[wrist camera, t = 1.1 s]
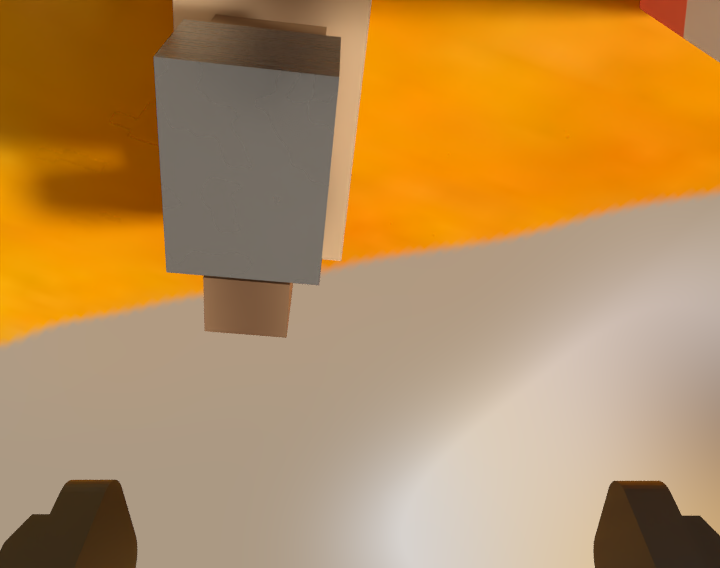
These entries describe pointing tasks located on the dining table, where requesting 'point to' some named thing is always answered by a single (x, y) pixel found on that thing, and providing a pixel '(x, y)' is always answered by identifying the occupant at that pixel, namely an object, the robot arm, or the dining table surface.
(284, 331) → the body
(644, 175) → the dining table surface
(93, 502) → the robot arm
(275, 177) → the lever cap
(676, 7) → the french fries container
